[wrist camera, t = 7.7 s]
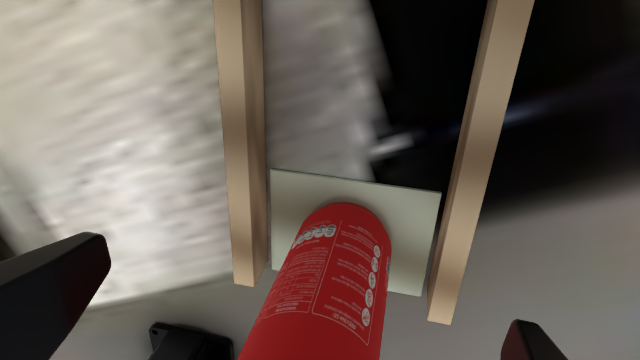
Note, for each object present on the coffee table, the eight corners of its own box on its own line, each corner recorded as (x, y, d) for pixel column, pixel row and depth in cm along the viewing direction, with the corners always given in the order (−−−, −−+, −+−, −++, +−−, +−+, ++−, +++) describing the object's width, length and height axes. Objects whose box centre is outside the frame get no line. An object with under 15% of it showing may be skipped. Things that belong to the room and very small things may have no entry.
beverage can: (387, 192, 22) (353, 400, 11) (397, 271, 24) (376, 505, 14) (294, 197, 23) (189, 386, 13) (312, 271, 25) (233, 483, 15)
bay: (446, 299, 24) (450, 354, 21) (250, 263, 27) (224, 308, 23) (543, -99, 15) (577, -117, 12) (231, -104, 17) (183, -121, 14)
